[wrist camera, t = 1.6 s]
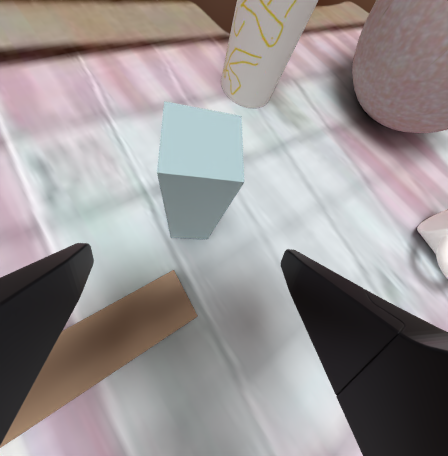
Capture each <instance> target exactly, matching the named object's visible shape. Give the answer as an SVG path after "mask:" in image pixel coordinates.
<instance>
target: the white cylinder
mask: <svg viewBox="0 0 448 456" xmlns="http://www.w3.org/2000/svg"><path fill="white" fill-rule="evenodd" d="M317 2H318V0H237V4H236V9H235V14H234V19H233V23H232V28H231V33H230V38H229V43H228V48H227V53H226V58H225V63H224V68H223V73H222V78H221V86H222V89H223V91H224V92H225V94H226V95H227V96H228V97H229V98H230V99H231V100H232V101H233V102H235V103H236V104H238V105H240V106H243V107H246V108H260V107H263V106H264V105H266V104H267V103H268V101H269V99H270V97H271V95H272V93H273V91H274V89H275V87H276V85H277V83H278V81H279V79H280V77H281V75H282V73H283V71H284V69H285V67H286V65H287V63H288V61H289V59H290V57H291V55H292V53H293V51H294V49H295V47H296V45H297V43H298V40H299V38H300V36H301V34H302V32H303V30H304V28H305V26H306V24H307V22H308V20H309V18H310V16H311V14H312V12H313V10H314V8H315V6H316V4H317Z"/></svg>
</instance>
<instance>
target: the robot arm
mask: <svg viewBox="0 0 448 456" xmlns="http://www.w3.org/2000/svg"><path fill="white" fill-rule="evenodd" d="M93 262H94V259H93V255H92V250H91V246H90V245H89V244H88V243H77V244H74V245H72V246H70V247H68V248H65V249H63V250H61V251H59V252H56V253H54V254H52V255H50V256H48V257H45V258H43V259H41V260H39V261H37V262H34V263H32V264H30V265H28V266H25V267H23V268H21V269H19V270H17V271H14V272H12V273H10V274H8V275H5V276H3V277H1V278H0V445H1V443H2V442H3V440H4V438H5V436H6V434H7V432H8V430H9V429H10V427H11V425H12V423H13V421H14V419H15V417H16V416H17V414H18V412H19V410H20V408H21V406H22V404H23V403H24V401H25V399H26V397H27V395H28V393H29V391H30V390H31V388H32V386H33V384H34V382H35V380H36V378H37V377H38V375H39V373H40V371H41V369H42V367H43V365H44V364H45V362H46V360H47V358H48V356H49V354H50V352H51V351H52V349H53V347H54V345H55V343H56V341H57V339H58V338H59V336H60V334H61V332H62V330H63V328H64V326H65V325H66V323H67V321H68V319H69V317H70V315H71V313H72V312H73V310H74V308H75V306H76V304H77V302H78V300H79V298H80V296H81V294H82V291H83V289H84V286H85V284H86V281H87V279H88V276H89V274H90V271H91V268H92V266H93ZM281 268H282V271H283V274H284V277H285V280H286V283H287V286H288V289H289V292H290V294H291V296H292V299H293V301H294V303H295V305H296V308H297V310H298V312H299V314H300V316H301V319H302V321H303V323H304V325H305V328H306V330H307V332H308V334H309V336H310V339H311V341H312V343H313V345H314V348H315V350H316V352H317V354H318V356H319V359H320V361H321V363H322V365H323V367H324V370H325V372H326V374H327V376H328V379H329V381H330V383H331V385H332V387H333V390H334V392H335V394H336V395H337V399H338V401H339V403H340V406H341V408H342V410H343V412H344V414H345V417H346V419H347V421H348V423H349V425H350V428H351V430H352V432H353V434H354V437H355V439H356V441H357V443H358V445H359V448H360V450H361V452H362V454H363V456H448V332H446V331H444V330H442V329H440V328H438V327H436V326H434V325H432V324H430V323H428V322H426V321H424V320H422V319H420V318H418V317H416V316H414V315H412V314H410V313H408V312H406V311H404V310H403V309H401V308H399V307H397V306H395V305H393V304H391V303H389V302H387V301H385V300H383V299H382V298H380V297H378V296H376V295H374V294H373V293H371V292H369V291H367V290H365V289H363V288H362V287H360V286H358V285H356V284H355V283H353V282H351V281H349V280H347V279H346V278H344V277H342V276H340V275H339V274H337V273H335V272H333V271H331V270H330V269H328V268H326V267H324V266H322V265H321V264H319V263H317V262H315V261H314V260H312V259H310V258H308V257H306V256H305V255H303V254H301V253H299V252H297V251H296V250H290V249H287V250H286V251H285V253H284V255H283V258H282V260H281Z"/></svg>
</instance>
